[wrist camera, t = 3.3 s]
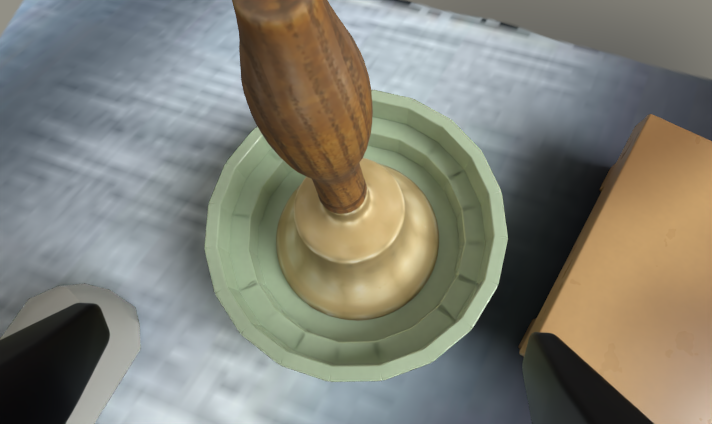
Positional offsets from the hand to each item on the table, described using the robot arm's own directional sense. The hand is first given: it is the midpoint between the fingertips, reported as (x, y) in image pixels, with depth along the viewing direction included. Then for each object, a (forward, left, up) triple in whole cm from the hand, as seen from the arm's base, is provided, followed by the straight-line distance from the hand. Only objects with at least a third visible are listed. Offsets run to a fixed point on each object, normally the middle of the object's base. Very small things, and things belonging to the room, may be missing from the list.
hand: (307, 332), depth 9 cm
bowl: (+4, -3, -12) cm, 13 cm away
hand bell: (+4, -3, -12) cm, 13 cm away
